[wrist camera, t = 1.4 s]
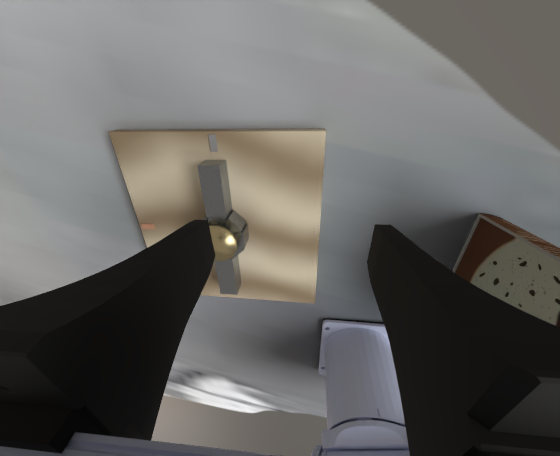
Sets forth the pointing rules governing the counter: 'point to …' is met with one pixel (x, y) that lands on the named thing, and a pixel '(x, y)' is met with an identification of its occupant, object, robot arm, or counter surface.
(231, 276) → the t key
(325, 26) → the counter surface
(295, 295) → the plate
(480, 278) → the food container
